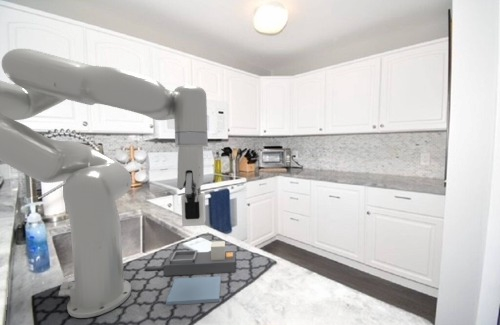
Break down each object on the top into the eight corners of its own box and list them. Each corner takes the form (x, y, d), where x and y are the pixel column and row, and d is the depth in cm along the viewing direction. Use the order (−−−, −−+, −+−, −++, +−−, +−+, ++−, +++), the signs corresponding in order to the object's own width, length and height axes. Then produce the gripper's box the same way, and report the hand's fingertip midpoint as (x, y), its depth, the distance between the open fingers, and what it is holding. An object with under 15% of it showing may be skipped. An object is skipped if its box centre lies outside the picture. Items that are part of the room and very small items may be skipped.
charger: (182, 226, 54) (181, 192, 53) (185, 220, 57) (184, 188, 57) (203, 225, 54) (202, 191, 53) (205, 219, 58) (204, 188, 57)
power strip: (139, 277, 63) (138, 252, 62) (148, 263, 70) (147, 241, 69) (235, 272, 65) (235, 248, 64) (235, 259, 72) (234, 238, 71)
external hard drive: (202, 258, 74) (182, 247, 82) (222, 250, 80) (201, 240, 88) (202, 254, 74) (182, 243, 82) (222, 245, 80) (201, 236, 88)
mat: (166, 305, 52) (166, 301, 52) (175, 281, 61) (175, 278, 61) (219, 301, 53) (219, 298, 53) (220, 279, 62) (220, 276, 62)
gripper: (182, 141, 62) (184, 207, 64) (165, 139, 46) (169, 228, 47) (210, 141, 63) (211, 205, 64) (203, 139, 46) (206, 227, 48)
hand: (194, 214), depth 56 cm, fingers closed on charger, 4 cm apart
